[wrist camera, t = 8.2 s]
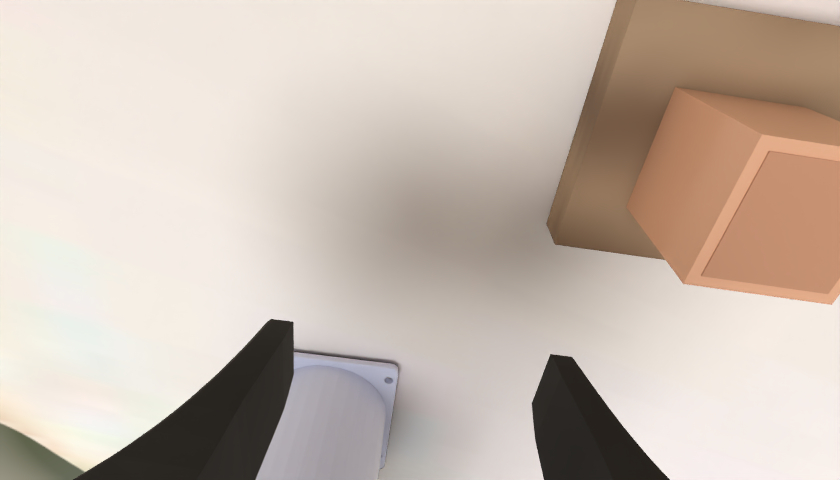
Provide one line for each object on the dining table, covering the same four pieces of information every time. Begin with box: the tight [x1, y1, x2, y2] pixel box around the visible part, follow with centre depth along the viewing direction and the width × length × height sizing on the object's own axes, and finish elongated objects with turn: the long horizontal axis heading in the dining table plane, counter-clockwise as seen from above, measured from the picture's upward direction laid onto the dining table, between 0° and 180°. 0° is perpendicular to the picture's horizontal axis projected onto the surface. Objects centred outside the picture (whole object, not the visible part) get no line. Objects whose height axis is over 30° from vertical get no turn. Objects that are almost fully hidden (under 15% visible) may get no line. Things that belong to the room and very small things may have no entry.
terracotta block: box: [626, 87, 840, 305], centre depth 16 cm, size 5×5×6 cm
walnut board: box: [547, 0, 840, 260], centre depth 20 cm, size 10×10×2 cm
